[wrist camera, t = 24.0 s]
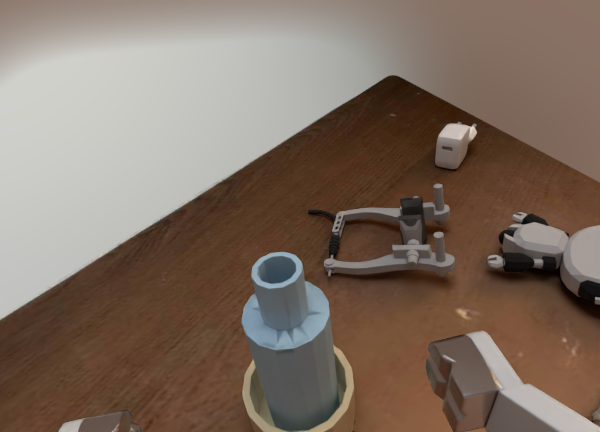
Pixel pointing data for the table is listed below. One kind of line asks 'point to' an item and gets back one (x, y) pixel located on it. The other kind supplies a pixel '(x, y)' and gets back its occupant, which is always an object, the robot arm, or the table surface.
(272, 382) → the bottle
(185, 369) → the table surface
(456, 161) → the power adapter
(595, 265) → the robot toy
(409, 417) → the table surface
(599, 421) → the stone tool
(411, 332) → the table surface
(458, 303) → the table surface
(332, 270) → the bike brake
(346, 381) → the holder
